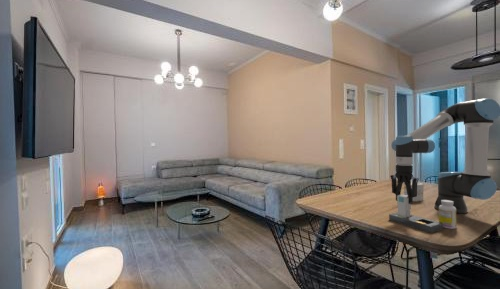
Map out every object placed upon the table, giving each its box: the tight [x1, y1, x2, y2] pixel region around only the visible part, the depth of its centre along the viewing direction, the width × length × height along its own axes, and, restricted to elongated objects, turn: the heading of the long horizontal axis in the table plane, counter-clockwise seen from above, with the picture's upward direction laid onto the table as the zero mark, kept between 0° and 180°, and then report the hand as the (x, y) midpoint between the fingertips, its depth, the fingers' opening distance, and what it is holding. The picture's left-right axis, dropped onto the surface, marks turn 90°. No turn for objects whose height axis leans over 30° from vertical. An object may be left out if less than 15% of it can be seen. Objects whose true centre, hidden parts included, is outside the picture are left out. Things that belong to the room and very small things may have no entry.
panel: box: [388, 211, 444, 234], centre depth 118 cm, size 10×20×3 cm, turn 25°
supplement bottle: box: [438, 200, 457, 230], centre depth 114 cm, size 7×7×13 cm
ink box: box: [403, 179, 425, 202], centre depth 164 cm, size 9×8×13 cm
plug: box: [397, 193, 411, 218], centre depth 122 cm, size 5×4×11 cm
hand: (404, 208), depth 123 cm, fingers closed on plug, 4 cm apart
